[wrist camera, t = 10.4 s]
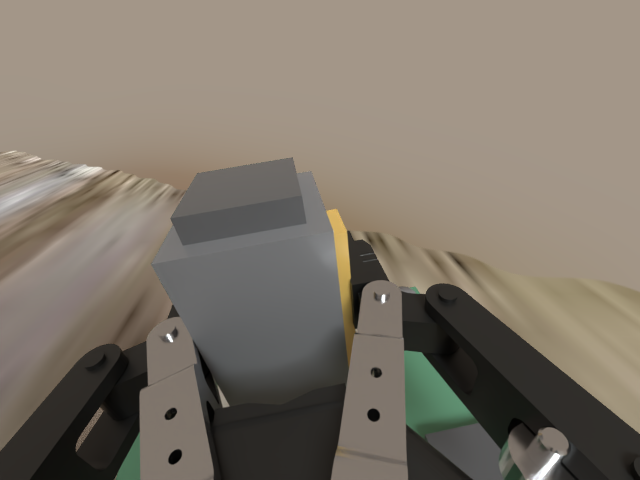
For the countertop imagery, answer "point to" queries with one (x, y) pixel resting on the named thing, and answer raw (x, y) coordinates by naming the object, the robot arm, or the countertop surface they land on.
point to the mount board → (416, 422)
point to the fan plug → (261, 281)
